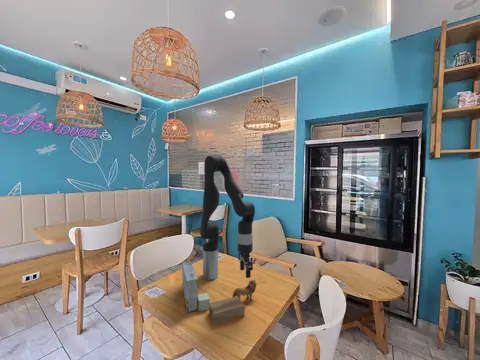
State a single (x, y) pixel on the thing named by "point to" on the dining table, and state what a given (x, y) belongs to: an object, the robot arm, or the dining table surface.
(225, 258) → the dining table surface
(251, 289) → the lion figurine
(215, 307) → the taupe rectangular block
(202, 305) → the sage cube
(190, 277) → the snack box
